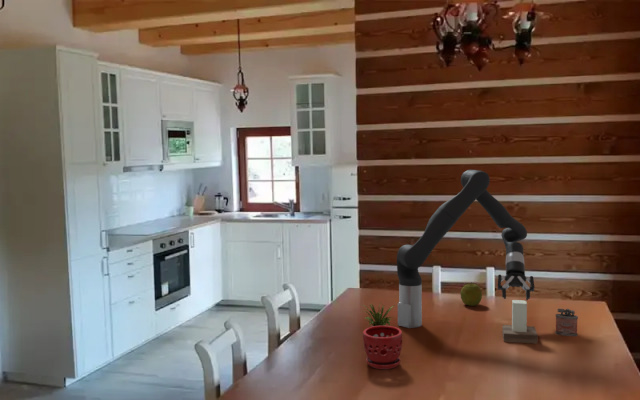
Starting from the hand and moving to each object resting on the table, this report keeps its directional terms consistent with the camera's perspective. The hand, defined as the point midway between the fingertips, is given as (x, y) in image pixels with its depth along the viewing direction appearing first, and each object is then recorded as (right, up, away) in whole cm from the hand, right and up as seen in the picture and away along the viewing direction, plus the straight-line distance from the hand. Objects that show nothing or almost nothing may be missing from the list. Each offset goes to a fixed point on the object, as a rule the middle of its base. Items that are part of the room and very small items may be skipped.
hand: (516, 298), depth 245 cm
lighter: (+17, -13, -7) cm, 23 cm away
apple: (-8, -10, +39) cm, 41 cm away
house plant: (-58, -15, -16) cm, 62 cm away
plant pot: (-57, -17, -38) cm, 71 cm away
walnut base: (-2, -13, -11) cm, 17 cm away
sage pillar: (-2, -10, -11) cm, 15 cm away
